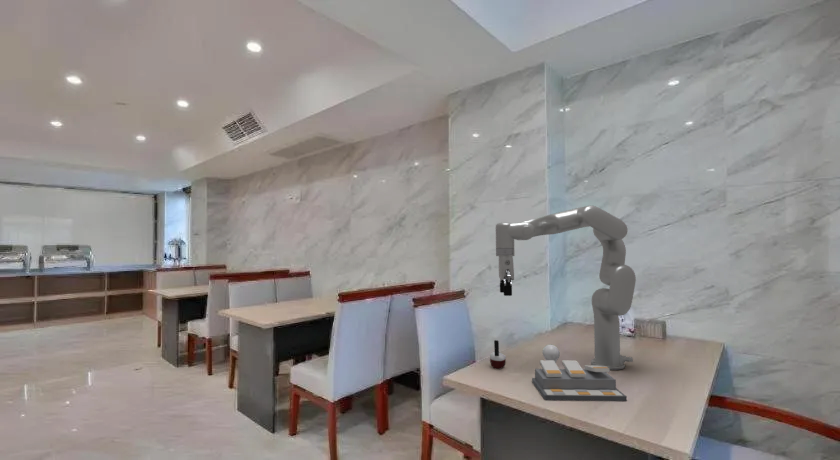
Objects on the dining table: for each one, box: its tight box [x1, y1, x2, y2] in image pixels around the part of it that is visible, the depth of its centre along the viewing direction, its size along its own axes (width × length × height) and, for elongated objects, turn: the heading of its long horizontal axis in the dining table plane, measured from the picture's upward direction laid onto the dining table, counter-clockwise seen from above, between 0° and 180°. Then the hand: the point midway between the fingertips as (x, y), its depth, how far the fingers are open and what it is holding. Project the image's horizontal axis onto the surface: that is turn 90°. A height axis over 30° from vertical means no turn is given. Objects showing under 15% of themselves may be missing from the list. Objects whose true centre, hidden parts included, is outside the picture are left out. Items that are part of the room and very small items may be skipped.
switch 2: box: [561, 359, 586, 377], centre depth 133 cm, size 5×9×1 cm, turn 178°
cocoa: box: [489, 339, 507, 370], centre depth 156 cm, size 10×6×12 cm, turn 142°
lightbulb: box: [542, 344, 560, 364], centre depth 149 cm, size 6×6×11 cm
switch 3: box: [583, 364, 611, 373], centre depth 133 cm, size 5×9×1 cm, turn 178°
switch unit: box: [531, 368, 627, 402], centre depth 131 cm, size 26×16×5 cm, turn 88°
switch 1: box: [539, 359, 562, 377], centre depth 134 cm, size 5×9×1 cm, turn 178°
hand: (505, 294), depth 158 cm, fingers open, 9 cm apart
